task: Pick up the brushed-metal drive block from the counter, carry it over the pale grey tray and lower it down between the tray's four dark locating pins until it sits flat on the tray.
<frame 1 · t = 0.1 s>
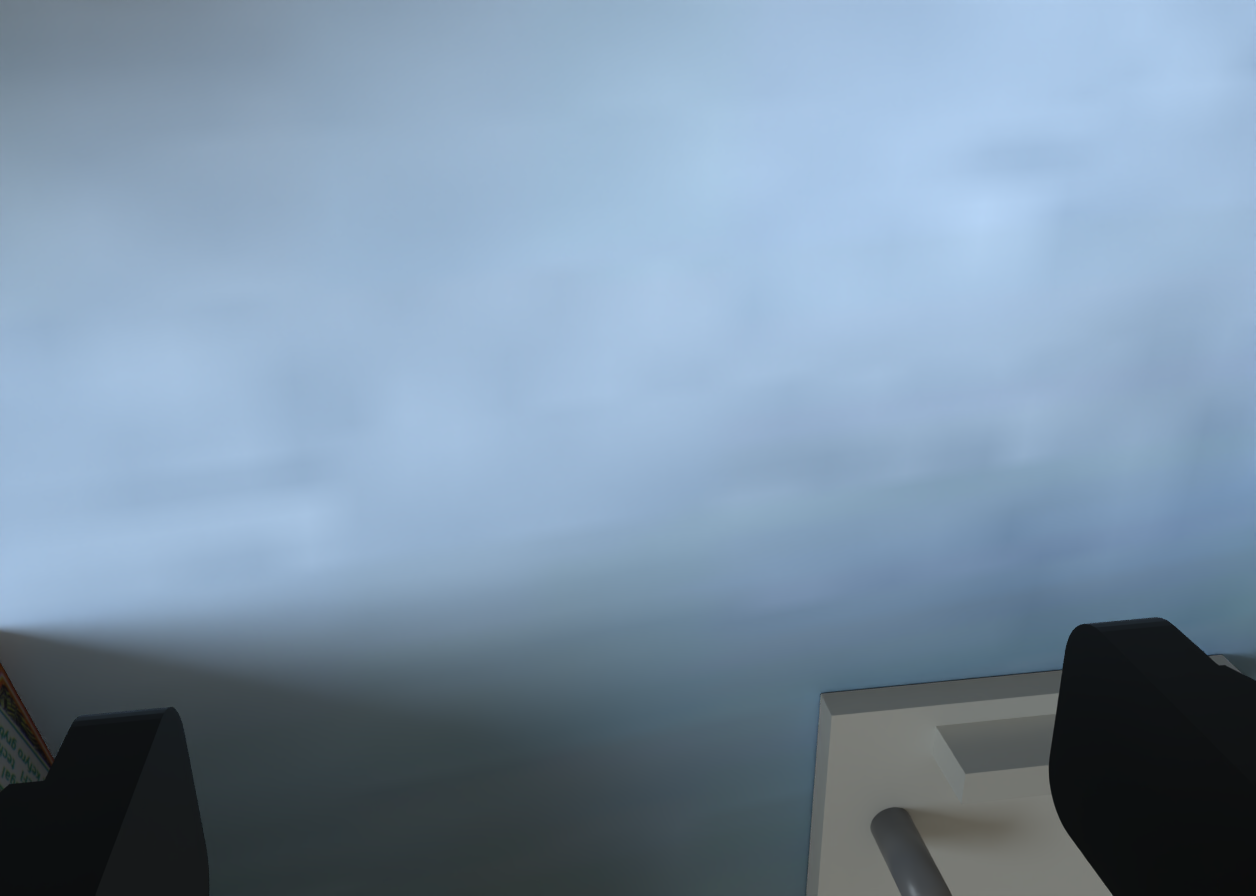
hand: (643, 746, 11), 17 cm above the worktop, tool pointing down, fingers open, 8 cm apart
tray: (991, 887, 36), on the worktop
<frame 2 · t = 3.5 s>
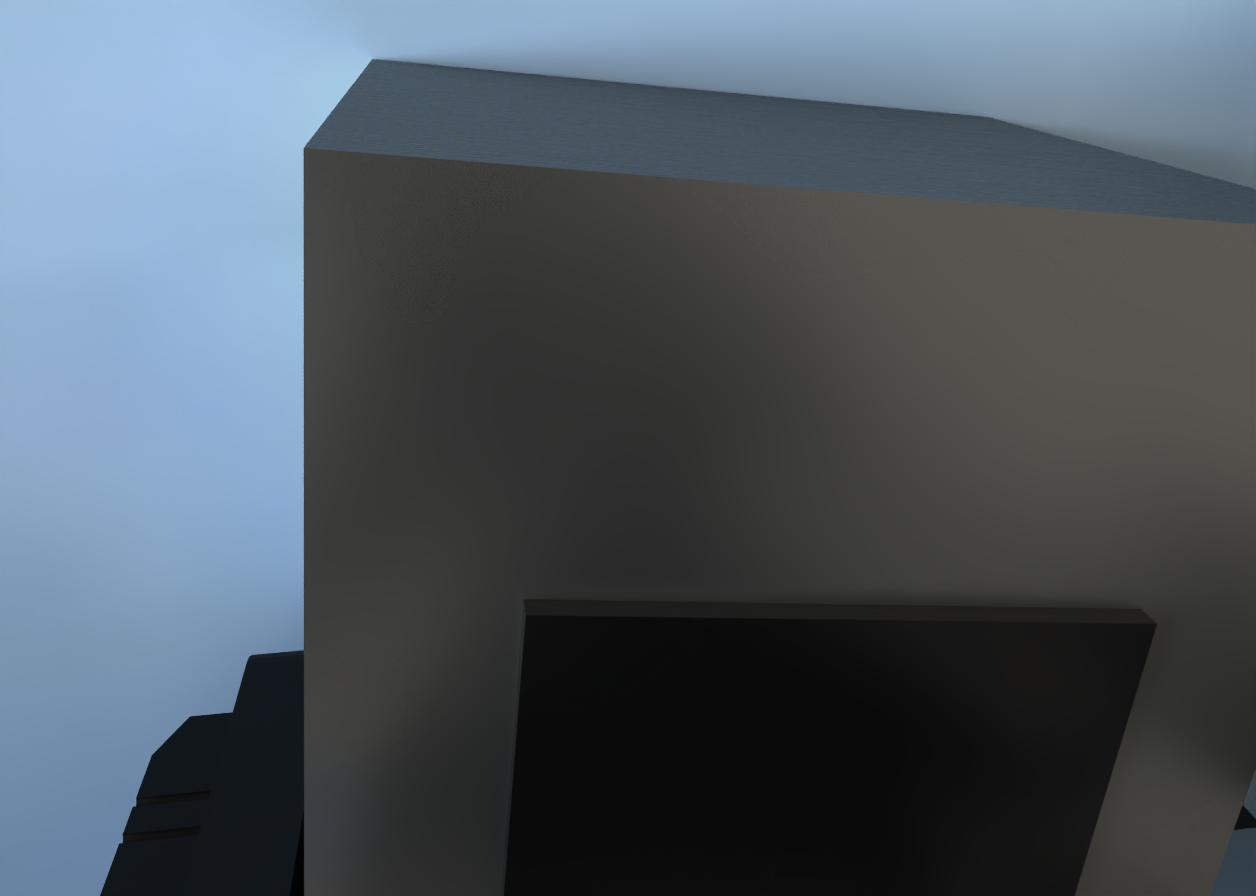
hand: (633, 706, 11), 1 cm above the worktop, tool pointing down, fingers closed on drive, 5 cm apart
drive: (627, 663, 12), on the worktop, touching gripper
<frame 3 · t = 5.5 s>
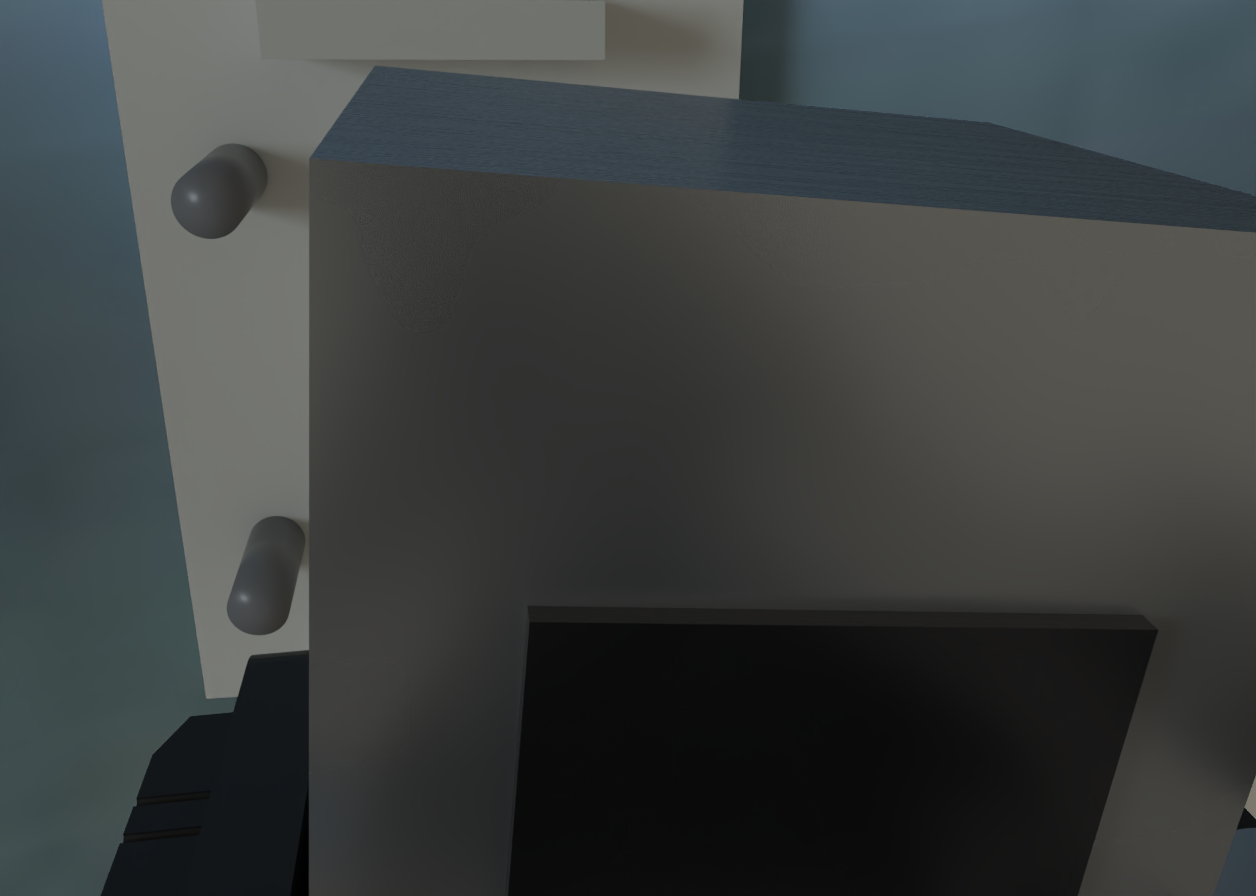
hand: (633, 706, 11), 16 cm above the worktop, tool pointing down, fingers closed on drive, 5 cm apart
tray: (451, 348, 26), on the worktop
drive: (629, 666, 12), point 15 cm above the worktop, touching gripper
when the fingers open (3 cm above the worktop, at t = 7.8 s): drive drops 1 cm, resting on tray.
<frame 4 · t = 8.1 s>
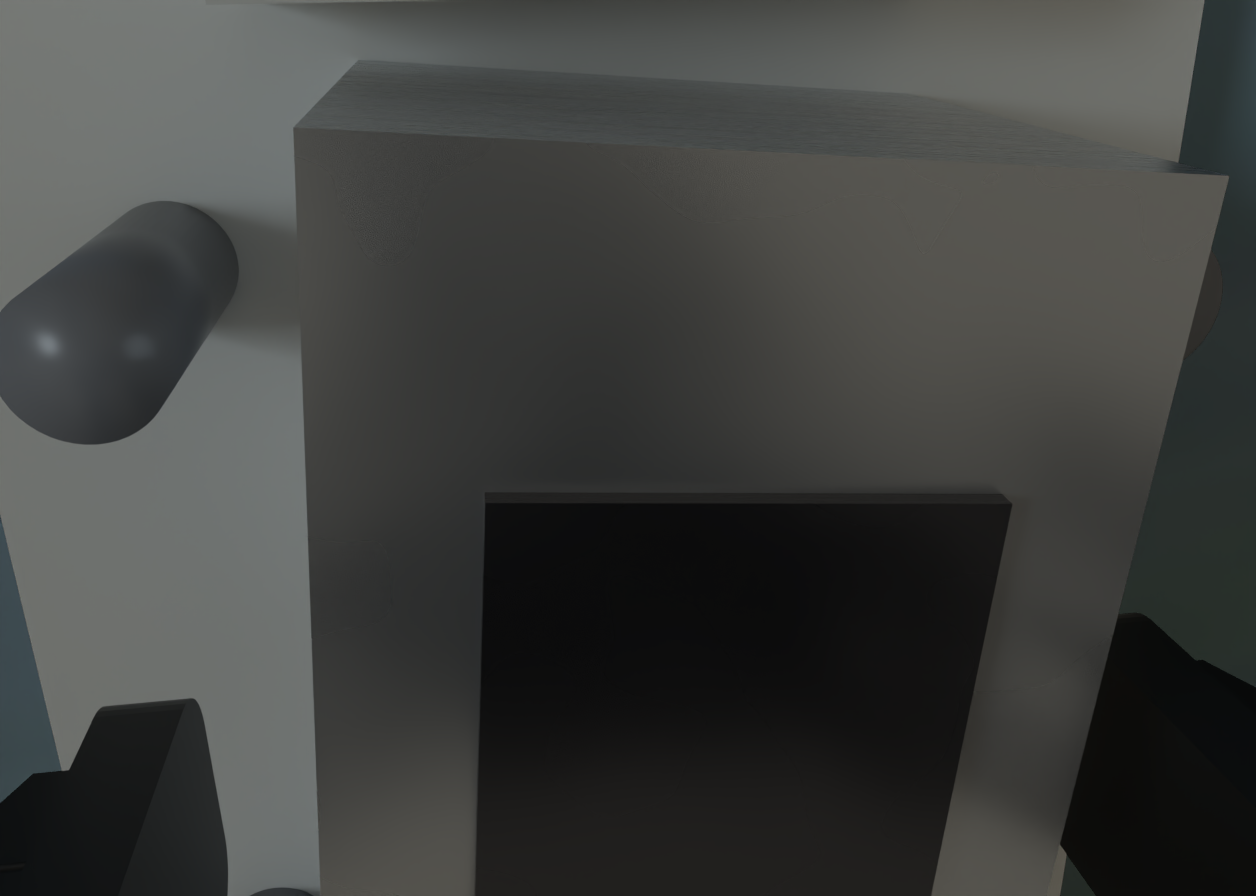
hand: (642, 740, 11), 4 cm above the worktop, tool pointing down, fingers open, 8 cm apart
tray: (595, 562, 14), on the worktop
drive: (607, 598, 13), point 1 cm above the worktop, touching tray
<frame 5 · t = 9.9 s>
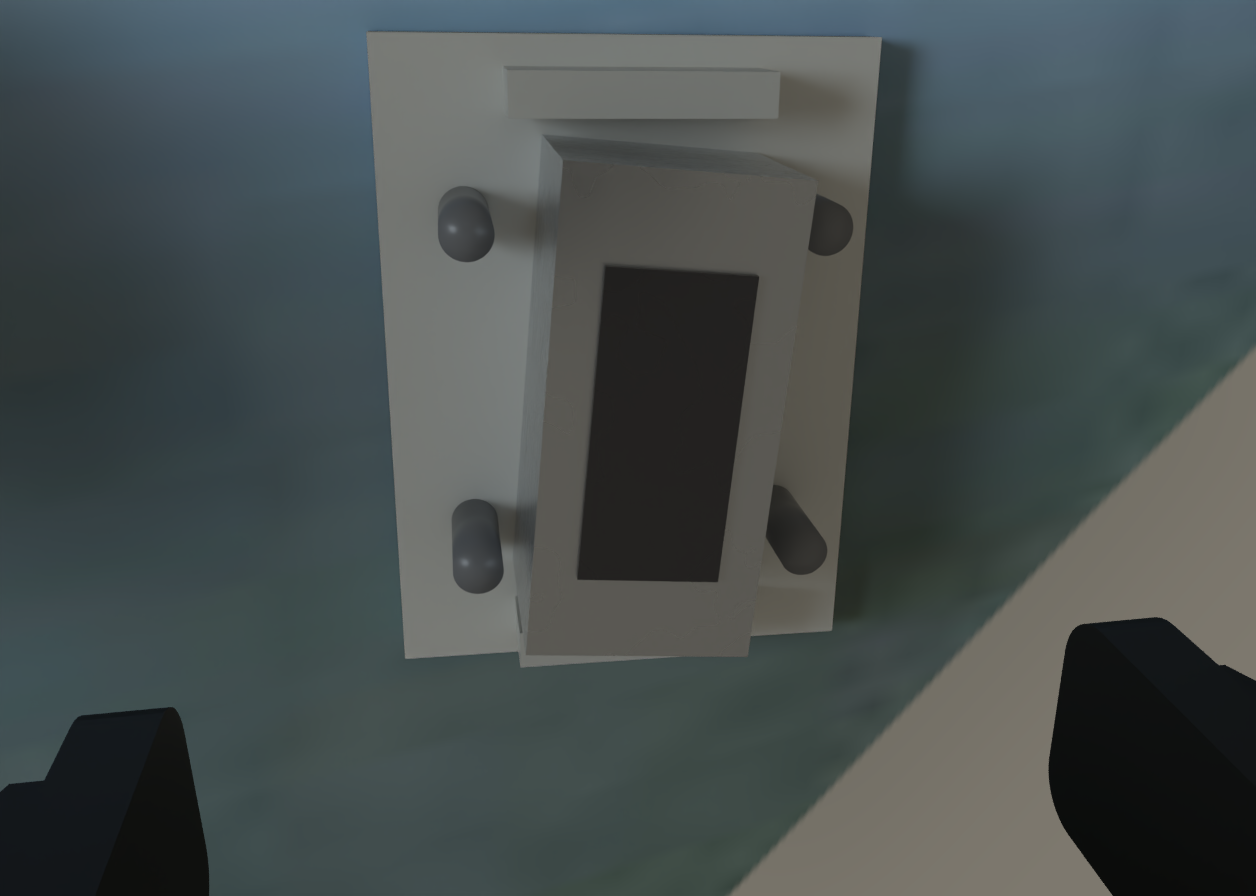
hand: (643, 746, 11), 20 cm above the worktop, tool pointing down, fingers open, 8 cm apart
tray: (622, 357, 31), on the worktop
drive: (628, 365, 30), point 1 cm above the worktop, touching tray
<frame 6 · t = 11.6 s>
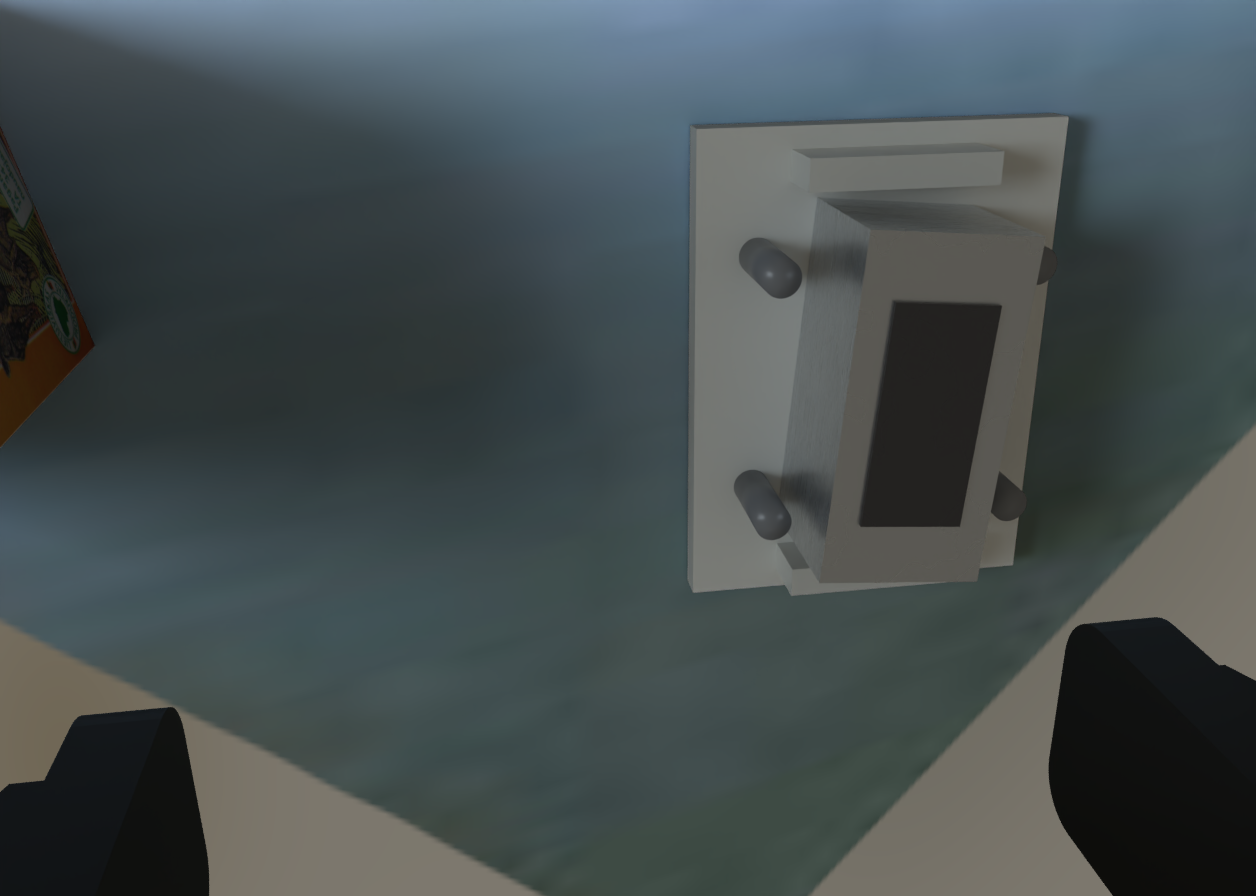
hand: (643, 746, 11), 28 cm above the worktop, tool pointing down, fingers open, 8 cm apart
tray: (860, 359, 40), on the worktop
drive: (870, 366, 39), point 1 cm above the worktop, touching tray
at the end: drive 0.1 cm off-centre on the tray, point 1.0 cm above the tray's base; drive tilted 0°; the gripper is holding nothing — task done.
